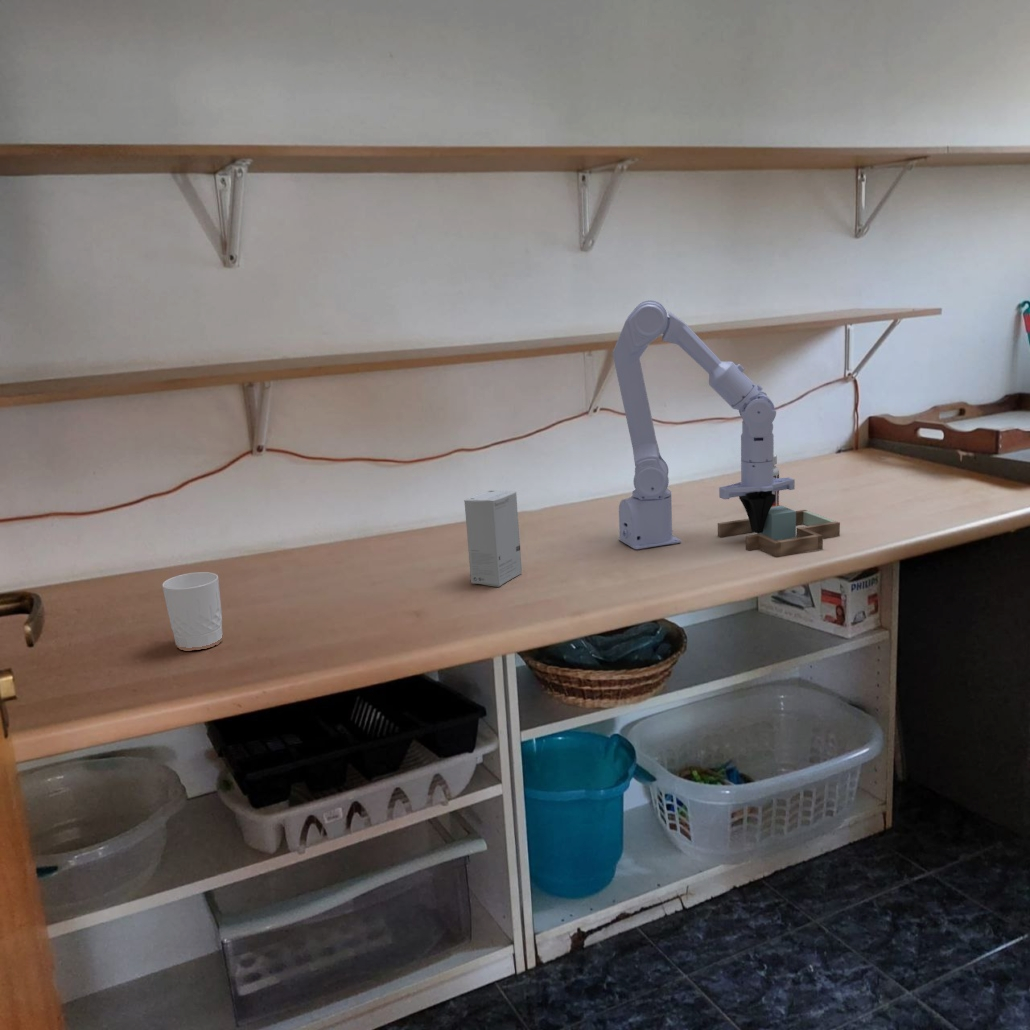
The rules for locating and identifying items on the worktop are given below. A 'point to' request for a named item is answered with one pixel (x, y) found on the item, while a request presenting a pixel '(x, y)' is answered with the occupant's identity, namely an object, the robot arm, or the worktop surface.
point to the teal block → (780, 523)
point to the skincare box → (493, 537)
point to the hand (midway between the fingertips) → (757, 531)
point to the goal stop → (814, 519)
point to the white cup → (194, 608)
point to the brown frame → (805, 541)
